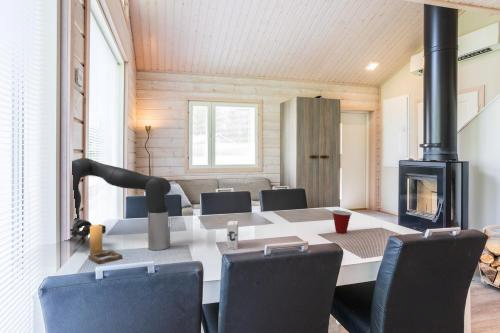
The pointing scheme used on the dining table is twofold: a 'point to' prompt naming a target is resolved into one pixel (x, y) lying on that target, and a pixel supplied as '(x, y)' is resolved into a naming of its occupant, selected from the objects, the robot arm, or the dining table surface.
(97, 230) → the yellow tall block
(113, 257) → the walnut collar
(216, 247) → the dining table surface
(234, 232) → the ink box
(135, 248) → the dining table surface
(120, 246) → the dining table surface
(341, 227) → the plastic cup
